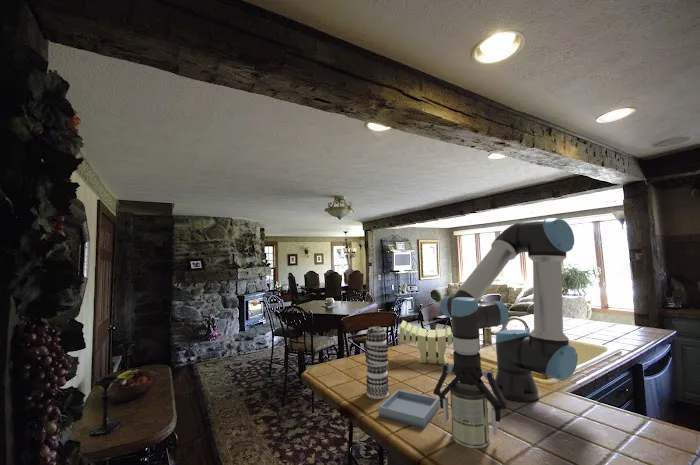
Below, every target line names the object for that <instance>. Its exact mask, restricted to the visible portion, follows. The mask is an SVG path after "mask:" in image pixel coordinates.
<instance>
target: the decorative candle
mask: <svg viewBox="0 0 700 465" xmlns="http://www.w3.org/2000/svg"><path fill="white" fill-rule="evenodd" d="M386 333H387V331H386V330H385V329H384V328H383V327H382V326H369V327H368V328H367V330H366V331H365V335H366V338H365V342H364V349H365V350H364V352H365V354H364V356H365V364H366V367H367V368H366V369H367V370H366V376H365V377H366V381H365V382H366V384H365V385H366V396H367V397H369V398H371V399H375V400H379V399H385V398H387V397H389V395H390V393H389V375H388V367H387V365H388V363H389V362H388V361H389V358H388V357H389V355H388V354H387V353H388V352H389V349H388V348H389V345H388V344H387V336H386Z"/></svg>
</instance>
